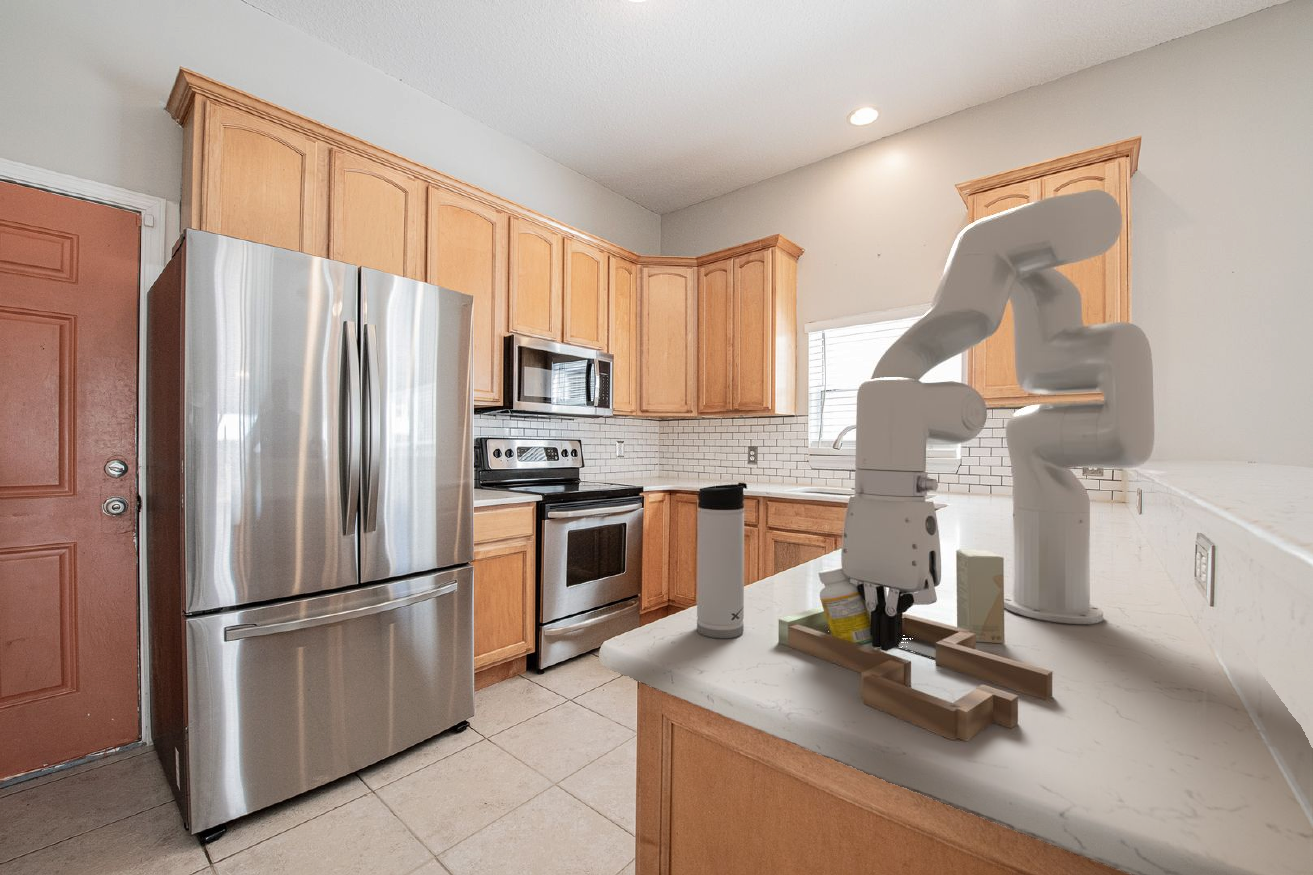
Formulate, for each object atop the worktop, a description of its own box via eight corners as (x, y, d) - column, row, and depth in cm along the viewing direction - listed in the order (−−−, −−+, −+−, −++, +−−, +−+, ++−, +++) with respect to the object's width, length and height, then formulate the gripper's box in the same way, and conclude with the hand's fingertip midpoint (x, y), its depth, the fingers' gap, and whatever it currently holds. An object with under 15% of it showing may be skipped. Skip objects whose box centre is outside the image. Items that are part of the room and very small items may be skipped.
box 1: (853, 617, 81) (853, 596, 81) (1072, 679, 60) (1072, 652, 60) (744, 653, 67) (744, 628, 67) (981, 752, 46) (981, 715, 46)
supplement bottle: (871, 653, 63) (845, 568, 65) (829, 656, 66) (804, 576, 68) (888, 640, 67) (862, 561, 69) (847, 644, 70) (823, 568, 72)
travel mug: (749, 639, 72) (750, 484, 72) (698, 638, 72) (699, 484, 72) (742, 623, 78) (743, 481, 78) (695, 623, 78) (696, 481, 78)
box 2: (1005, 644, 70) (1005, 557, 71) (968, 642, 71) (968, 555, 71) (989, 630, 76) (989, 549, 76) (955, 628, 76) (955, 548, 77)
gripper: (972, 490, 60) (969, 660, 60) (849, 481, 72) (845, 623, 72) (941, 492, 56) (937, 676, 55) (814, 482, 67) (810, 634, 67)
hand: (885, 646), depth 63 cm, fingers closed
